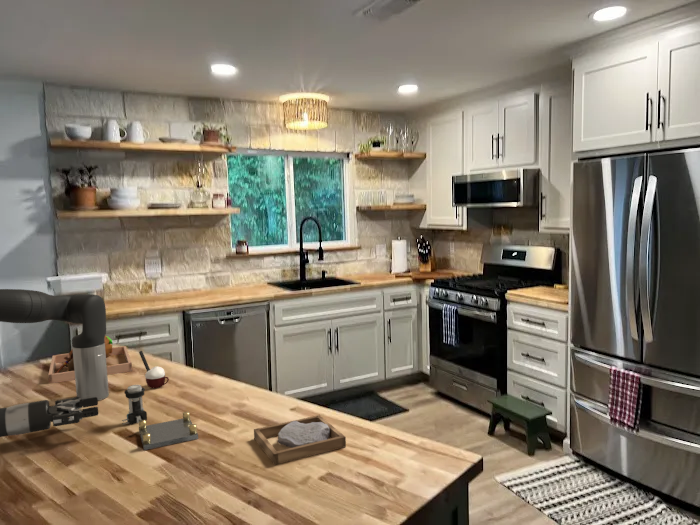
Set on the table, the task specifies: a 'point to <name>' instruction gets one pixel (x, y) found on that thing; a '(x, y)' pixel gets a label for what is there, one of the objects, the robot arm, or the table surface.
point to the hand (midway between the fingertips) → (97, 405)
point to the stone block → (303, 433)
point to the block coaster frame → (300, 451)
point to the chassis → (167, 432)
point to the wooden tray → (71, 374)
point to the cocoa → (154, 375)
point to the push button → (135, 404)
